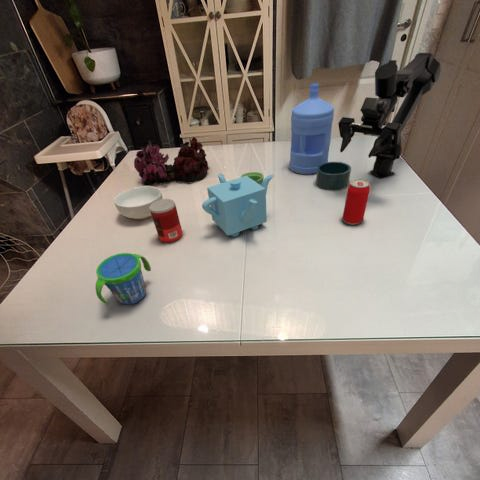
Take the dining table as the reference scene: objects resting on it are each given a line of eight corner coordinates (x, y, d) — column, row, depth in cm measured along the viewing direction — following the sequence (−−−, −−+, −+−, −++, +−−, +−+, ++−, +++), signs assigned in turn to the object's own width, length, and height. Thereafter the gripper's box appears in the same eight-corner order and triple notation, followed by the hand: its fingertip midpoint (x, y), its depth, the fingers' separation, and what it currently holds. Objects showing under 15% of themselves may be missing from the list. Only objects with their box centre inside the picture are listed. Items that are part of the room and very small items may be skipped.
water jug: (300, 158, 133) (305, 78, 112) (333, 163, 126) (345, 79, 105) (282, 171, 125) (284, 88, 104) (317, 177, 118) (325, 90, 97)
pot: (335, 173, 119) (337, 159, 115) (355, 184, 111) (358, 169, 107) (309, 181, 116) (311, 166, 112) (328, 193, 109) (330, 177, 105)
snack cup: (119, 322, 73) (101, 291, 66) (96, 304, 78) (77, 274, 71) (167, 287, 81) (156, 256, 73) (143, 273, 86) (131, 243, 78)
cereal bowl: (175, 211, 110) (170, 192, 104) (137, 231, 102) (130, 211, 97) (148, 199, 118) (143, 181, 113) (112, 216, 111) (104, 198, 106)
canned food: (187, 231, 99) (179, 199, 91) (176, 244, 94) (166, 212, 86) (166, 229, 101) (157, 197, 93) (155, 242, 96) (144, 210, 88)
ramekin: (268, 187, 116) (268, 175, 113) (250, 195, 113) (250, 183, 109) (254, 180, 121) (253, 169, 118) (236, 188, 118) (235, 177, 115)
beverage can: (360, 215, 96) (369, 177, 88) (364, 225, 92) (373, 187, 83) (340, 216, 97) (347, 178, 88) (343, 226, 93) (350, 188, 84)
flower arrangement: (207, 163, 138) (201, 126, 127) (212, 181, 125) (206, 141, 114) (140, 175, 136) (128, 138, 125) (138, 193, 123) (124, 154, 112)
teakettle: (204, 238, 95) (195, 193, 84) (223, 209, 107) (217, 166, 96) (261, 244, 91) (259, 197, 80) (274, 213, 102) (274, 168, 91)
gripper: (350, 84, 89) (323, 128, 89) (414, 88, 80) (384, 136, 79) (353, 116, 99) (328, 156, 98) (411, 123, 89) (384, 167, 89)
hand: (354, 153), depth 91 cm, fingers open, 9 cm apart
